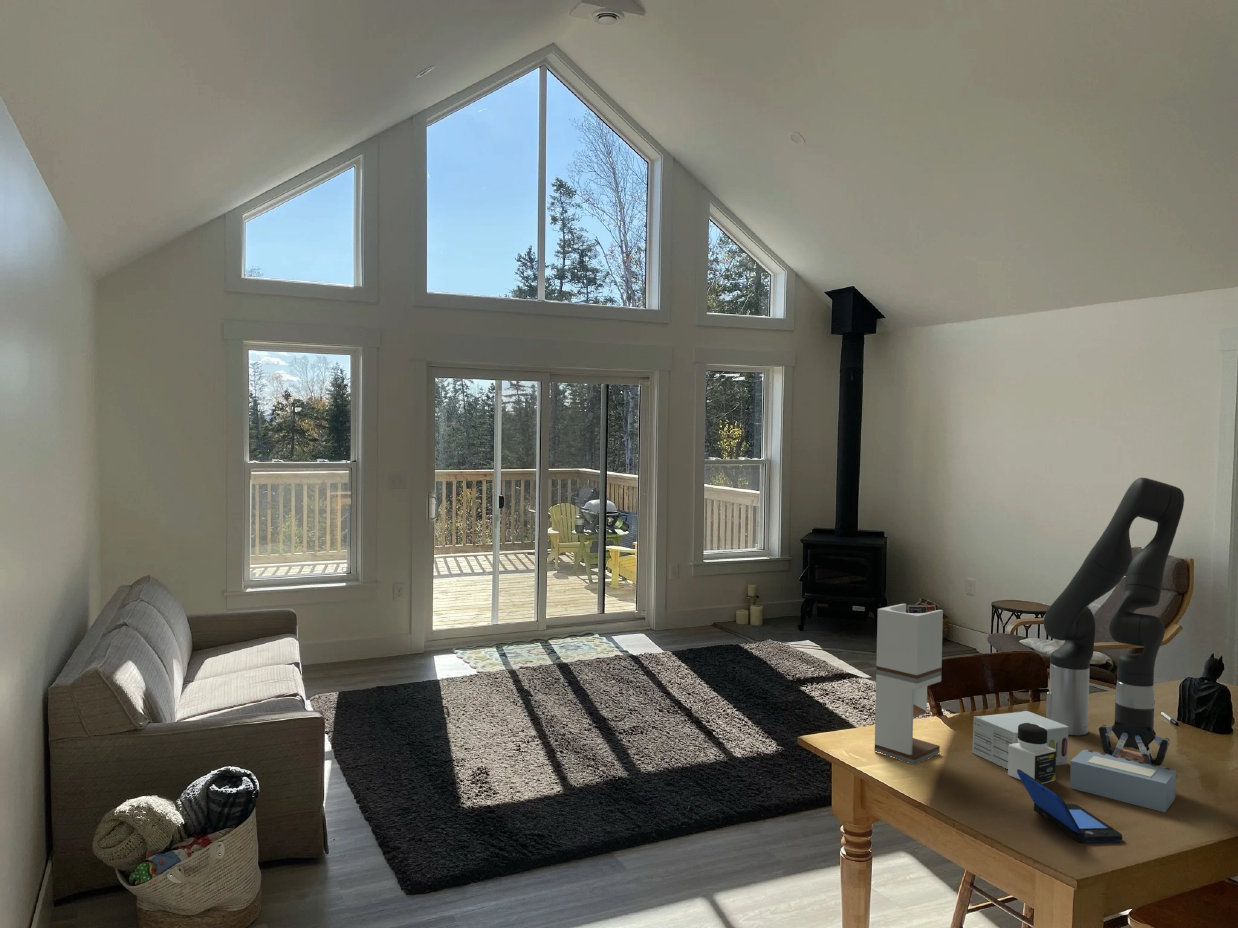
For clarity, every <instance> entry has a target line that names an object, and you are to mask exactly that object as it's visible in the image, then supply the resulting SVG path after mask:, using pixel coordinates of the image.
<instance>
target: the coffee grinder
mask: <svg viewBox="0 0 1238 928" xmlns="http://www.w3.org/2000/svg"><path fill="white" fill-rule="evenodd" d="M943 615H944V610H943V609H937V610H932V611H927V612H923V613H922V612H920V613H919V612H918V613H914V612H913V613H911V612H907V603H900V604H894V605H889V606H885V607H881V608H877V618H876V620H877V624H876V625H877V628H876V630H877V631H876V632H877V633H876V663H875V664H876V671H875V672H876V673H875V711H874V712H875V716H874V717H875V718H874V752H875V751H877V752H881V753H883V754H886V755H888V756H892V757H895V758H897V759H900V760H902V761H901V762H903V761H905V762H904V763H906V762H909V763H911V764H910V765H912V764H914V765H913V766H916V765H918V764H920V763H919V762H921V763H922V761H923V760H925V761H927V760H929V759H928V758H930V757H932V756H934V757H936V756H937V755H936V754H938V753H939V754H940V751H941V750H940V748H941V747H940V745H938V744H936V743H932V742H927V741H925V740H922V739H917V738H914V737H913V736H914V733H913V732H914V718H915V717H921V716H923V715H925V714H927V712H928V711H927V706H928V705H927V704H928V703H927V702H928V686H931V685H934V684H937V683H941V682H942V669H943V668H942V666H943V629H944V628H943V625H944V622H943V620H944V616H943ZM935 755H936V756H935ZM932 758H933V757H932ZM897 759H896V760H897ZM926 759H927V760H926ZM930 759H931V758H930ZM900 760H899V761H900ZM923 762H924V761H923ZM909 763H908V764H909ZM917 763H918V764H917ZM915 764H916V765H915Z"/></svg>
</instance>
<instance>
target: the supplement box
mask: <svg viewBox="0 0 1238 928" xmlns="http://www.w3.org/2000/svg"><path fill="white" fill-rule="evenodd" d="M1023 723H1035V724H1039V725H1041V726H1043V727H1045V728H1046V729H1047V730H1048V737H1047V747H1050V748H1053V749H1055V750H1056V766H1062V765H1063V766H1064V765H1067V764H1068V752H1069V747H1068V746H1069V735H1068V729H1069V727H1068V726H1066V725H1064V724H1061V723H1058V722H1056V721H1053V720H1050V719H1047V718H1046V717H1045V716H1042V715H1039V714H1036V713H1034V712H1031V711H1028V710H1023V711H1014V712H1005V713H996V714H988V715H978V716H977V715H976V716H975V715H974V716H973V724H972V726H973V728H972V749H971V753H972V754H973V755H976V756H978V757H981V758H983V759H984V760H987V761H989V762H991V763H993V764H994V765H997V766H999V767H1001V766H1002V768H1003V769H1005V768H1006V769H1005V770H1007V769H1008V748H1009V744H1014V743H1018V726H1019V725H1020V724H1023Z"/></svg>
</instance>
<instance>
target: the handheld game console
mask: <svg viewBox="0 0 1238 928" xmlns="http://www.w3.org/2000/svg"><path fill="white" fill-rule="evenodd" d="M1017 773H1018V775H1019V777H1020V779H1021V780H1020V782H1021V783H1022V784H1023V786H1024V788H1025V789H1026V791H1027V792H1028V795H1029V796H1030V799H1031V800H1032V802H1033V810H1034V811H1035V812H1036V813H1037V814H1040V815H1041V816H1042V817H1044V818H1045V820H1048V821H1049V822H1051V823H1053V824H1054V825H1057V826H1058V827H1059V828H1060V829H1061V831H1063V832H1064V833H1065V834H1067V835H1068V836H1069V837H1071V838H1072V839H1074V841H1076V842H1078V843H1080V844H1084V843H1110V842H1112V843H1113V842H1116V843H1117V842H1122V840H1123V834H1122V833H1121V832H1119V831H1118V830H1117V829H1115V828H1113V827H1112V826H1110V825H1109V824H1107V823H1106V822H1104V821H1103V820H1101V819H1100V818H1098V817H1096V816H1095V815H1094V814H1092V813H1091V812H1089V811H1088V810H1086V809H1084V808H1082V807H1081V806H1080V805H1078V804H1075V803H1066V802H1065V801H1064V799H1063V797H1061V796H1060V795H1059V794H1058V793H1056V792H1055V791H1054V790H1052V789H1051V788H1049V787H1048V786H1046V785H1044V784H1041V783H1040V782H1038V781H1037V780H1035V779H1033V778H1032V777H1030V776H1029V775H1027V774H1026V773H1024V772H1023V771H1021V770H1019V769H1018V770H1017Z"/></svg>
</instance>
